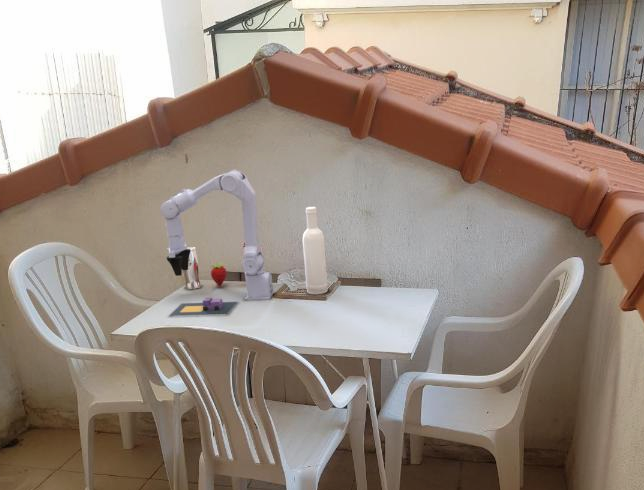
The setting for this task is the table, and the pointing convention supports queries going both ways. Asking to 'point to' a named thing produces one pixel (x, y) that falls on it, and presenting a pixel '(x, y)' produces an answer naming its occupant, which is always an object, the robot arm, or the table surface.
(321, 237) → the bottle
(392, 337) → the table surface
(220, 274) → the decorative fruit
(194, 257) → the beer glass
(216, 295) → the table surface
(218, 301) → the toy truck
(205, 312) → the play mat
